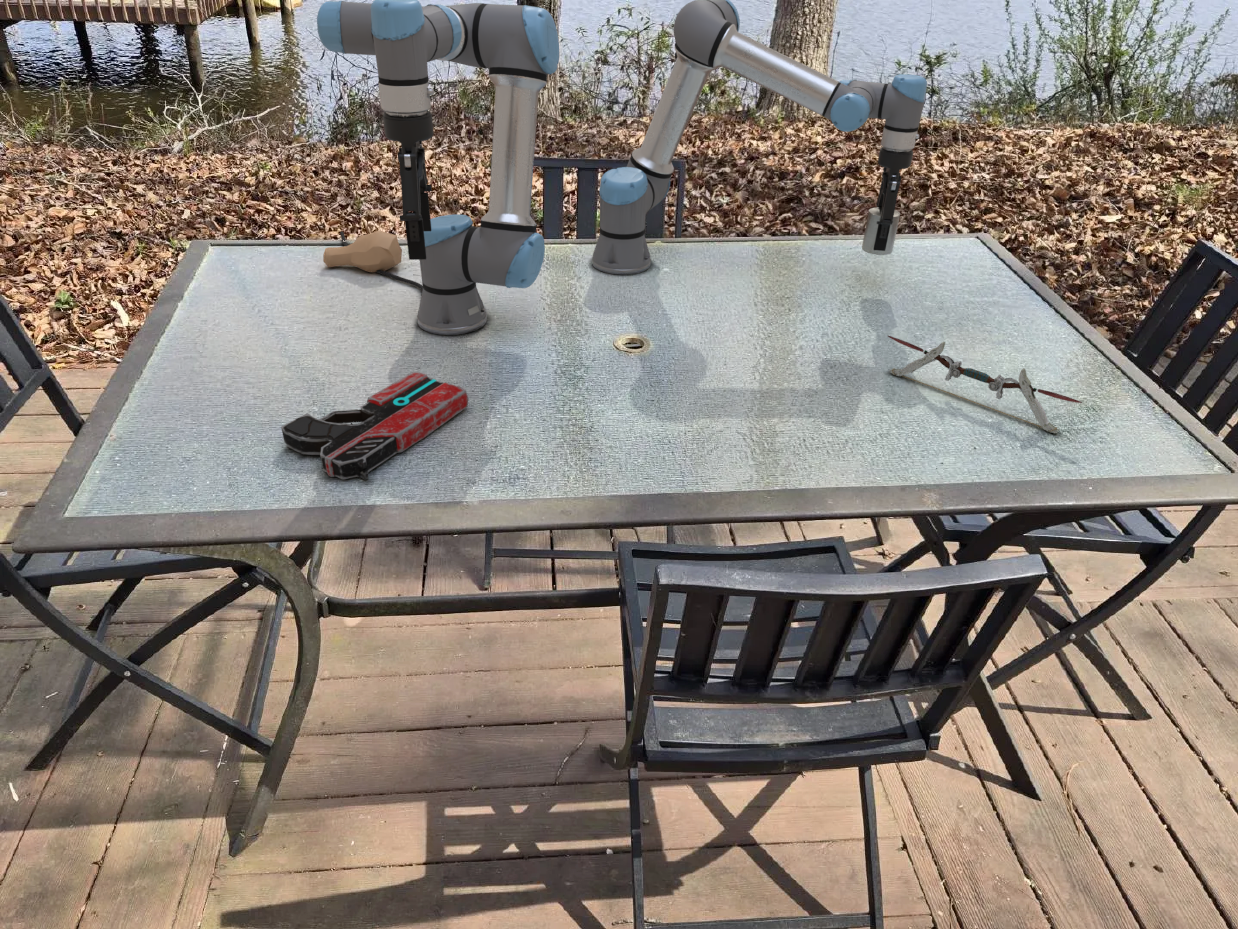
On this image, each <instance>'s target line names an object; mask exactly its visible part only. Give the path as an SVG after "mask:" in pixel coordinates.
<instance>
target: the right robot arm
mask: <svg viewBox="0 0 1238 929" xmlns="http://www.w3.org/2000/svg"><path fill="white" fill-rule="evenodd" d="M740 26H741V20H740V15H739V12H738V9H737V7H736V6H735V4H734V3H733V2H732V1H731V0H692V1H690V2H688V3H686V4H685V5H684V6H683V7H682V8H680V10H679V11H678V12H677V14H676V17H675V19H674V23H673V36H674V41H675V45H674V50H675V53H676V56H677V57H676V60H675V62H674V64H673V66H672V69H671V72H670V74H669V77H668V79H667V81H666V85H665V87H664V88H663V92H662V94H661V97H660V99H659V102H658V104H657V107H656V109H655V111H654V114H653V116H652V119H651V121H650V123H649V126H648V128H647V131H646V133H645V136H644V138H643V141H642V143H641V146H640V147H638V148H636V149H633V150H632V152H631V155H630V158H629V160H628V162H627V165H626V166H621V167H617V168H611V169H608V170H607V171H606V172H604V173H603V174H602V176H601V178H600V184H599V189H598V190H599V191H598V192H599V235H598V239H597V241H596V244H595V247H594V250H593V253H592V257H591V264H592V266H593V267H594V268H595V269H596V270H598V271H600V272H603V273H606V274H612V275H622V276H624V275H625V276H626V275H635V274H640V273H643V272H645V271H648V269H650V268H651V264H652V263H651V262H652V261H651V260H652V258H651V253H650V250H649V246H648V242H647V238H646V218H647V215H646V214H647V213H649V211H651V210H652V209H654V207H656V206H658V205H660V204H661V203H662V201H663V200H664V199H665V198H666V197H667V195H668V193H669V191H670V187H671V178H672V175H673V173H674V170H675V167H674V165H673V162H672V161H673V159H674V156H675V154H676V152H677V149H678V147H679V145H680V142H681V140H682V138H683V135H684V133H685V131H686V128H687V126H688V123H689V121H690V119H691V117H692V115H693V113H694V109H695V108H696V105H697V103H698V100H699V98H700V96H701V95H702V94H701V93H702V91H703V89H704V86H705V84H706V82H707V80H708V78H709V74H710V73H711V72H713V71H716V70H718V69H719V68H724V69H726V70H728V71H730V72H731V73H734V74H736V75H738V76H740V77H742V78H743V79H747V80H748V81H750V82H752V83H753V84H754V83H755V84H757V85H759V86H761V87H762V88H765V89H767V90H768V91H771V92H773V93H775V94H777V95H779V96H780V97H783V98H785V99H787V100H789V101H791V102H792V103H795V104H797V105H799V106H801V107H803V108H805V109H807V110H809V111H811V112H813V113H815V114H817V115H819V116H822V117H823V118H825V119H827V120H829V121H831V123H832V125H833V126H834V127H835V128H836V129H837V130H839V131H841V132H843V133H845V132H846V133H848V132H853V131H856V130H857V129H859V128H861V127H862V126H864V124H865V123H866V122H867V120H868V119H878V120H884V122H885V123H884V126H883V130H882V135H881V141H880V145H881V147H880V149H879V153H878V159H877V165H879V166H880V167H883V168H882V174H881V182H880V186H879V192H878V196H877V200H876V203H875V205H876V207H882V211H881V218H880V221H877V224H878V229H877V234H876V239H875V244H874V250H879V251H885V249H886V244H887V240H888V235H889V230H890V225H892V223H893V216H894V211H895V210H896V205H897V199H898V194H899V189H900V186H901V182H902V175H901V172H900V170H906V169H909V168H910V167H911V166H912V161H913V156H914V150H913V149H914V148H915V146H916V140H918V139H920V134H919V133H918V131H919V128H920V124H921V119H922V114H923V109H924V105H925V101H926V94H927V88H928V82H927V79H926V78H925V77H923V76H921V75H917V74H912V73H911V74H910V73H909V74H905V73H900V74H896V75H895V76H894V77H893V79H892V81H891V82H889V83H883V82H875V81H865V80H858V79H842V80H840V81H838V80H836V79H834V78H832V77H831V76H829V75H826V74H824V73H823V72H820V71H818V70H816V69H814V68H812V67H810V66H809V65H806V64H804V63H802V62H800V61H798V60H795V59H794V58H791V57H790V56H787V55H785V54H783V53H781V52H779V51H778V50H775V49H773V48H771V47H769V46H767V45H766V44H763V43H761V42H759V41H757V40H755V39H753V38H751V37H749V36H747V35H745V34H743V33H741V32H739V31H740Z"/></svg>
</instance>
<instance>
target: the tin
mask: <svg viewBox="0 0 1238 929" xmlns="http://www.w3.org/2000/svg"><path fill="white" fill-rule="evenodd" d="M881 211H882V207H877V206H876V207H871V208H869V209H868V213H867V218H866V224H865V229H864V233H863V234H864V235H863V240H862V245H861V250H862V251H863V252H865V253H867V254H871V255H876V256H888V255H890V254H892V253H893V250H894V246H895V242H896V237H897V236H896V235H897V232H898V228H899V222H900V216H901V213H900V211H898V210H897V209H895V211H894V216H893V223H892V225H890V230H889V235H888V240H887V244H886V249H885V251H879V250H874V244H875V239H876V234H877V229H878V224H877V221H880V218H881Z"/></svg>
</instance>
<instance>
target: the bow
mask: <svg viewBox="0 0 1238 929" xmlns="http://www.w3.org/2000/svg"><path fill="white" fill-rule="evenodd" d="M887 337H888V338H889V339H891V340H893V341H895V342H896V343H899V344H901V345H903V346H905V347H907V348H910V349H912V350H915V351H918V352H921V353H923V355H924V356H923V357H920V358H917V359H915V360H913V361H911V362H909V363H908V364H906V365H905V366H904V367H903V368H896V367H893V368H891V369H889V373H890V374H892V375H893V376H897V377H903V378H905V379H908V380H910V381H911V380H912V381H914V382H916V383H919V384H922V385H924V386H928V387H930V388H933V389H935V390H938V391H940V392H944V393H947V394H949V395H951V396H953V397H954V396H955V397H957V398H960V399H963V400H966V401H968V402H971V403H974V404H976V405H979V406H982V407H984V408H987V409H990V410H993V411H996V412H997V413H1001V414H1003V415H1006V416H1009V417H1011V418H1014V419H1017V420H1019V421H1022V422H1025V423H1028V424H1030V425H1034V426H1036V427H1039V428H1041V429H1043V430H1044V431H1046V432H1048V433H1051V434H1052V433H1053V434H1058V432H1060V431H1061V430H1060V428H1058V427H1056V426H1055V425H1054V424H1052V423H1051V422H1050V421H1048V420H1049V419H1048V417H1047V414H1046V411H1045V409H1044V408H1043V406H1042V404H1041V403H1040V401H1039V399H1038V398H1037V397H1036V395H1035V393H1036V392H1038V393H1039V394H1043V395H1046V396H1048V397H1050V398H1053V399H1058V400H1061V401H1066V402H1071V403H1077V404H1083V401H1081V400H1078V399H1074V398H1072V397H1069V396H1066V395H1063V394H1060V393H1057V392H1053V391H1050V390H1045V389H1041V388H1036V387H1034V386H1032V382H1031V380H1030V378H1029V377H1028V375H1027V370H1026V368H1025V367H1023V368H1022V369H1021V370H1020V372H1019V375H1018V380H1016V378H1012V377H1006V378H1005V377H1004V376H1002V375H1001V374H999V375H997V377H995V378H993V377H992V376H990V375H989V374H987V373H986V372H983V371H980V370H977V369H975V368H970V367H965V368H964V367H962V361H961V360H960V361H957V360H956V361H954V359H953V358H952V357H950V356H948V355H945V354H942V352H944V349H945V346H946V341H942V342H941V343H940V344H938V346H937V347H934V348H932V349H930V351H928V350H927V349H925V350H924V349H923V348H922V347H919V346H917V345H915V344H914V343H911V342H908V341H905V340H902V339H901V338H897V337H894V336H891V335H887ZM935 361H937V362H939V363H940V364H941V365H943V366H944V367H945V368H946V369H947V374H946V375H945V378H944V381H948V382H949V381H950V380H952V377H953V378H955V379H958V378H959V377H961V376H964V377H967V378H971V379H974V380H976V381H980V382H981V383H985V384H988V387H987V388H988V389H989V390H990V391H992V392H996V393H995V395H996V397H995V399H997V400H1001V399H1002V398H1003V395H1004V389H1019V391H1020V392H1021V394H1022V395H1023V397H1024V398H1025V400H1026V401H1027V403H1028V406H1029V408H1030V410H1031V412H1032V413H1033V416H1034V417H1035V419H1036V421H1037V423H1038V424H1035V423H1033V422H1031V421H1028V420H1024V419H1022V418H1020V417H1017V416H1015V415H1011V414H1008V413H1006V412H1003V411H1001V410H998V409H995V408H993V407H990V406H987V405H984V404H981V403H979V402H977V401H973V400H971V399H969V398H965V397H963V396H960V395H957V394H954V393H952V392H949V391H947V390H944V389H940V388H939V387H936V386H933V385H930V384H927V383H924V382H921V381H919V380H916V379H913V378H911V377H908V376H905V375H908V374H913V373H914V372H915V371H917V370H919V369H920V368H922V367H924V366H926V365H928V364H930V363H933V362H935Z"/></svg>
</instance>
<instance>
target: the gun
mask: <svg viewBox="0 0 1238 929" xmlns="http://www.w3.org/2000/svg"><path fill="white" fill-rule="evenodd" d="M468 405H469V395H468V392H467V390H466V389H464V388H463V387H461V386H459V385H455V384H452V383H450V382H447V381H445V382H443V381H441V380H438V379H435V378H432V377H430V376H428V374H426V373H424V372H420V371H412V372H410V373H408V374H407V375H404V376H403V377H401V378H399V379H398V380H396V381H395V382H393V383H391V384H389V385H388V386H386V387H384V388H382V389H380V390H379V391H377V392H375V393H374V394H372V395H370V396H369V397H367V400H366V403H364V404H363V405H361V406H360V409H345V410H344V409H343V410H333V411H331V412H330V413H328V414H326V415H324V416H323V417H321V418H316V417H314V416H313V415H311V414H310V413H308V412H307V413H305V414H302V415H301V416H299V417H297V418H295V419H293V420H291V421H289V422H287V423H285V424H283V425H282V426H281V427H280V429H281V433H282V438H283V442H284V444H285V446H286V447H287V448H289V449H291V450H293V451H295V452H297V453H298V454H301V455H311V456H320V461H321V465H322V471H323V472H325V473H326V474H327V476H328V477H330V478H334V477H336V478H338V479H340V480H342V481H344V480H348V479H353V478H356V477H357V478H360V479H362V480H364V481H366V480H368V479H369V473H370V472H371V471H372V470H374V469H375V468H377V467H378V466H380V465H381V464H383V463H384V462H386V461H387V460H389V459H390V458H391V457H393V456H394V455H397V453H403V452H404V451H406V450H407V449H409V448H410V447H412V446H413V445H415V444H417V443H418V442H419V441H422V440H424V439H425V438H426V437H427V436H429V435H430V434H432V433H433V432H434V431H435V430H437V429H438V428H440V427H441V426H443V425H445V423H447V422H448V421H450V420H452V419H453V418H454V417H455V416H457V415H458V414H460V413H461V412H462V411H463V410H465V409H466V408H468Z"/></svg>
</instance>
